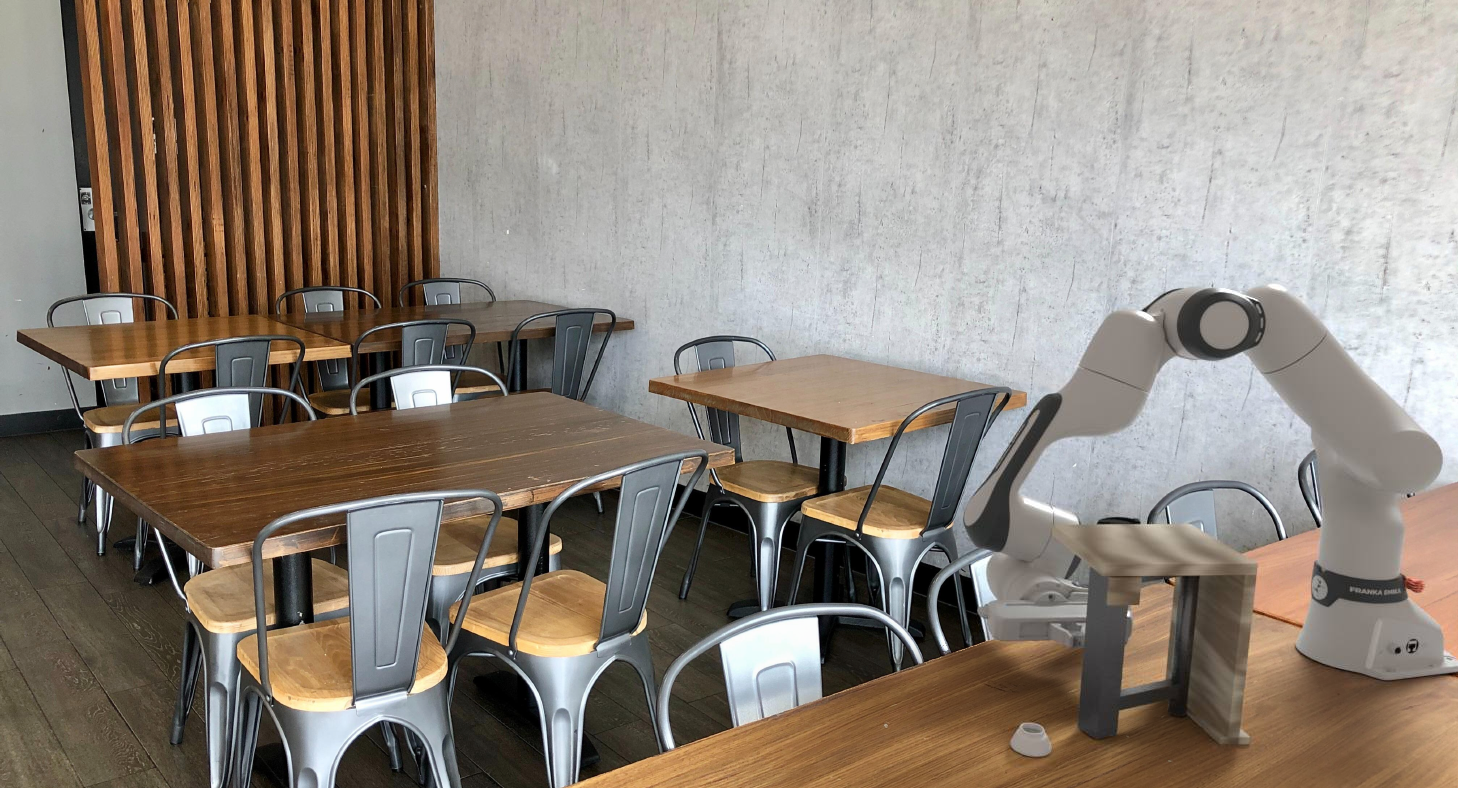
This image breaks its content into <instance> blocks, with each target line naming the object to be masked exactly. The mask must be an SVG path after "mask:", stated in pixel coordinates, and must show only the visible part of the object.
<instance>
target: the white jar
mask: <svg viewBox="0 0 1458 788" xmlns="http://www.w3.org/2000/svg"><path fill="white" fill-rule="evenodd" d="M1009 743H1010V747H1011V748H1012V749H1013V750H1014V751H1016V752H1017V753H1019V754H1021V755H1023V756H1028V757H1034V758H1037V757H1038V758H1039V757H1044V756H1045V757H1046V756H1047V755H1049V754H1050V753H1052V750H1053V749H1052V744H1051V741H1050V740H1049V737H1048V735H1047V733H1046V732H1045V728H1044V727H1043V726H1042V725H1040V724H1038V723H1035V722H1024V723H1021V724H1020V725H1019V728H1017V729H1016V731H1015V733H1014V734H1013V736H1012V737H1011V739H1010V741H1009Z"/></svg>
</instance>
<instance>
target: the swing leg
mask: <svg viewBox="0 0 1458 788" xmlns="http://www.w3.org/2000/svg"><path fill="white" fill-rule="evenodd" d="M1140 577H1142V581H1141V584H1143V583H1149V582H1156V581H1161V580H1166V579H1167V580H1169V579H1173V578H1174V579H1175V577H1180V584H1179V595H1178V605H1177V616H1176V627H1175V637H1174V648H1173V658H1172V669H1171V679H1168V680H1166V679H1163V681H1162V680H1158V681H1155V682H1150V683H1145V684H1141V685H1136V686H1132V687H1126V688H1122V683H1123V682H1122V680H1123V671H1124V670H1123V669H1124V658H1125V649H1126V648H1125V646H1126V643H1125V636H1126V625H1127V613H1128V605H1107V604H1106V603H1107V591H1108V579H1109V576H1102V575H1101V574H1099V573H1098V572H1097V571H1096V570H1094V569H1093V568H1092V567H1091V566H1089V580H1088V583H1089V588H1088V601H1087V614H1086V626H1085V639H1084V648H1083V653H1082V666H1081V667H1082V668H1081V678H1080V691H1079V704H1078V714H1077V715H1078V716H1077V719H1078V720H1077V728H1078V729H1079V730H1081V731H1082V732H1084V733H1086V734H1087V735H1089V736H1090V737H1092V738H1093V739H1095V740H1099V739H1104V738H1108V737H1112V736H1117V735H1118V730H1119V729H1118V727H1119V715H1120V711H1124V710H1129V709H1133V708H1137V707H1143V706H1147V705H1151V704H1156V703H1161V702H1165V701H1168V703H1167V713H1168V714H1170V715H1172V716H1175V717H1186V716H1187V703H1188V693H1189V683H1190V673H1191V662H1192V652H1193V642H1194V632H1195V621H1196V611H1197V601H1198V591H1199V581H1200V575H1184V576H1140Z"/></svg>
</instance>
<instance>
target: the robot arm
mask: <svg viewBox="0 0 1458 788" xmlns="http://www.w3.org/2000/svg"><path fill="white" fill-rule="evenodd" d="M1325 325H1326V324H1324V323H1323V322H1322V320H1321V319H1320V318H1318V316H1317V315H1315V313H1314V312H1313V311H1312V310H1311V309H1310V308H1309V307H1308V306H1307V305H1306V304H1305V303H1303V302H1302V300H1300V299H1299V298H1298V297H1296V295H1294V294H1293V293H1292V292H1290V290H1288V289H1287V288H1285V287H1284V286H1282V285H1279V284H1277V283H1265V284H1260V285H1257V286H1254V287H1252V288H1250V289H1247V290H1246V291H1244V292H1243V293H1239V292H1238V291H1234V290H1233V289H1228V288H1224V287H1211V286H1205V285H1204V286H1201V285H1196V286H1194V285H1193V286H1188V287H1186V288H1185V287H1183V288H1179V287H1178V288H1174V289H1171V290H1168V291H1166V292H1164V293H1162V294H1160V295H1159V296H1158V297H1156V298H1155V299H1154V300H1153V301H1152V302H1150V303H1149V304H1148V305H1146V306H1145V307H1143V309H1141V310H1139V309H1135V308H1122V309H1116V310H1115V311H1112V312H1111V313H1109V314H1108V315H1107V316H1106V317H1105V319H1104V320H1103V322H1101V324H1100V326H1099V327H1098V328H1097V330H1096V332H1095V333H1094V335H1093V336H1092V338H1091V340H1090V342H1089V344H1088V345H1087V347H1086V349H1085V350H1084V352H1083V355H1082V356H1081V359H1080V361H1079V364H1078V366H1077V368H1076V370H1075V372H1074V374H1073V376H1072V377H1071V378H1070V380H1069V381H1068V382H1067V383H1066V384H1064V386H1063V387H1062V388H1061V389H1059V390H1058V391H1056V392H1054V393H1048V394H1046V395H1044V396H1043V397H1042V398H1041V399H1040V400H1039V401H1038V402H1037V403H1036V404H1035V405H1034V407H1033V408H1032V409H1031V411H1030V412H1029V414H1028V415H1027V417H1026V418H1025V419H1024V421H1023V422H1022V424H1021V425H1020V427H1019V429H1017V431H1016V433H1015V435H1014V436H1013V438H1012V440H1011V441H1010V442H1009V444H1008V446H1007V447H1006V448H1005V450H1004V452H1003V454H1002V455H1001V456H1000V458H999V460H998V461H997V463H996V464H995V466H994V468H993V469H992V471H990V473H989V475H987V478H986V479H985V480H984V482H983V483H982V484H981V485H980V486H979V487H978V488H977V490H976V491H975V492H974V493H973V495H972V496H971V498H970V499H969V501H968V503H967V505H966V507H965V510H964V512H963V516H962V523H963V526H964V529H965V532H966V533H967V535H968V538H969V539H970V542H972V543H973V545H974V546H975V547H976V548H978V549H982V550H987V551H991V552H994V553H993V554H992V556H990V558H989V560H988V562H987V565H986V567H985V573H986V574H985V576H986V581H987V584H988V588H989V590H990V592H991V593H992V595H993V596H994V598H995V599H996V600H990V601H989V602H988V603H985V604H984V606H978V607H977V610H976V611H977V614H978V615H979V616H980V617H981V618H982V619H984V620H986V627H987V630H988V631H989V634H990V636H991V637H992V638H993V639H995V640H997V641H1000V642H1038V641H1039V642H1041V641H1042V642H1043V641H1044V642H1045V641H1047V642H1049V641H1050V642H1051V641H1053V642H1056V643H1060V644H1062V645H1063V644H1064V645H1065V646H1066V648H1067V649H1073V648H1075V649H1077V648H1081V649H1084V639H1085V626H1086V614H1087V601H1088V588H1089V582H1088V583H1087V582H1081V581H1073V580H1069V578H1071V576H1072V575H1074V573H1075V572H1076V570H1078V569H1077V568H1078V567H1079V565H1080V563H1081V561H1082V559H1081V558H1080V557H1078V556H1077V555H1076V554H1075V553H1073V552H1072V551H1071V550H1070V549H1068V548H1067V547H1066V546H1065V545H1063V544H1062V543H1061V542H1060V541H1059V540H1057V539H1056V538H1055V537H1054V536H1052V526H1053V525H1083V524H1082V521H1081V520H1080V518H1079V517H1078V516H1077V514H1076V513H1074V512H1071V511H1068V510H1066V509H1064V508H1061V507H1058V506H1056V505H1054V504H1051V503H1048V502H1044V501H1041V500H1038V499H1037V498H1033V497H1030V496H1028V495H1025V494H1023V493H1020V489H1021V487H1022V486H1023V484H1024V483H1025V481H1026V480H1027V478H1028V477H1029V475H1030V473H1031V472H1032V470H1033V469H1034V467H1035V465H1036V464H1037V463H1038V461H1039V460H1040V458H1041V456H1042V455H1043V453H1044V452H1045V451H1046V450H1047V448H1048V447H1049V446H1051V445H1052V444H1054V443H1055V442H1058V441H1060V440H1064V439H1069V438H1097V437H1099V438H1100V437H1108V436H1112V435H1115V434H1118V433H1121V432H1123V431H1124V430H1126V429H1128V428H1129V427H1131V426H1132V425H1133V424H1134V423H1135V421H1136V420H1137V419H1138V417H1139V416H1140V414H1141V412H1142V410H1143V409H1144V406H1145V404H1146V402H1147V400H1148V397H1149V395H1150V393H1151V390H1152V388H1153V385H1154V382H1155V380H1156V377H1157V375H1158V374H1159V372H1160V371H1161V369H1163V366H1164V365H1165V364H1166V363H1168V361H1170V360H1172V359H1173V358H1175V357H1178V358H1181V359H1186V360H1189V361H1190V360H1191V361H1200V360H1201V361H1202V360H1203V361H1208V362H1217V361H1222V360H1227V359H1229V358H1232V357H1234V356H1236V355H1239V354H1241V353H1242V354H1244V355H1245V356H1246V357H1248V358H1249V360H1250V362H1251V363H1252V364H1253V365H1254V366H1255V368H1256V369H1257V370H1258V371H1259V372H1260V374H1261V375H1262V377H1264V379H1265V380H1266V382H1268V383H1269V385H1270V386H1271V387H1272V388H1273V390H1274V391H1275V392H1276V393H1277V395H1278V396H1280V398H1281V400H1283V402H1284V404H1286V405H1287V406H1288V407H1289V409H1290V410H1291V411H1292V412H1293V414H1294V415H1296V416H1297V417H1298V418H1300V419H1301V420H1302V421H1303V422H1304V423H1305V424H1306V425H1307V426H1308V427H1309V428H1310V439H1311V443H1312V445H1313V447H1314V448H1313V449H1314V451H1315V453H1316V459H1317V469H1318V470H1317V471H1318V482H1319V491H1320V502H1321V523H1320V532H1319V541H1318V542H1319V543H1318V550H1317V559H1316V560H1314V561H1313V566H1312V567H1313V569H1312V574H1311V584H1310V586H1311V587H1310V594H1311V595H1310V596H1311V598H1310V602H1309V606H1308V610H1307V614H1306V618H1305V620H1304V624H1303V626H1302V629H1301V630H1300V632H1299V635H1298V638H1297V640H1296V641H1295V643H1294V644H1295V645H1294V646H1295V648H1296V649H1297V650H1298V651H1299V652H1300V653H1302V654H1303V655H1305V656H1306V657H1308V658H1310V659H1311V660H1314V661H1315V662H1319V663H1321V664H1324V665H1326V666H1329V667H1332V668H1337V669H1341V670H1345V671H1350V672H1355V673H1358V674H1363V675H1365V676H1369V677H1372V678H1376V679H1378V680H1383V681H1394V680H1401V679H1402V680H1403V679H1410V678H1416V677H1417V678H1418V677H1425V676H1434V675H1441V674H1450V673H1458V659H1457V657H1455V656H1454V655H1453V654H1452V653H1450V652H1448V651H1447V650H1446V649H1445V639H1444V633H1443V629H1442V627H1441V626H1440V624H1439V622H1437V620H1436V619H1434V618H1433V617H1432V616H1430V615H1429V614H1428V612H1426V611H1425V610H1423V609H1422V608H1421V607H1420V606H1418V605H1417V604H1416V603H1415V602H1414V601H1413V600H1411V599H1410V598H1409V595H1408V591H1407V590H1410V591H1412V592H1413V593H1415V594H1420V593H1422V592H1423V591H1424V590H1425V587H1426V585H1425V584H1426V583H1424V581H1423V580H1420V579H1418V578H1416V577H1414V576H1409V577H1407V576H1406V575H1404V574H1403V573H1402V572H1400V571H1401V570H1400V569H1401V564H1402V558H1403V549H1404V541H1405V534H1406V525H1405V520H1404V517H1403V516H1402V512H1401V510H1400V506H1399V502H1398V497H1397V495H1411V494H1416V493H1419V492H1421V491H1423V490H1426V489H1427V488H1429V487H1430V486H1431V485H1432V484H1433V483H1434V482H1435V481H1436V480H1437V478H1438V477H1439V475H1440V474H1441V472H1442V468H1443V464H1444V461H1443V460H1444V457H1443V452H1442V449H1441V446H1440V445H1439V444H1438V442H1437V441H1436V439H1434V438H1433V437H1432V435H1431V434H1429V433H1428V432H1427V431H1426V430H1425V429H1424V428H1422V427H1421V426H1420V425H1419V424H1418V422H1416V421H1415V420H1414V419H1413V418H1412V417H1411V415H1409V413H1408V412H1407V411H1406V410H1404V408H1403V407H1402V406H1401V405H1400V404H1399V403H1397V402H1396V400H1395V399H1394V398H1393V397H1392V396H1390V395H1389V394H1388V393H1387V392H1386V391H1385V390H1384V389H1383V388H1382V387H1381V386H1380V385H1379V384H1378V383H1377V382H1376V381H1375V380H1373V379H1372V378H1371V377H1370V376H1369V374H1367V373H1366V372H1365V371H1364V370H1363V369H1362V368H1361V367H1360V366H1359V365H1358V363H1356V362H1355V360H1354V359H1353V358H1352V356H1351V355H1350V354H1349V353H1348V352H1347V350H1346V349H1345V348H1344V347H1343V346H1342V344H1340V342H1339V341H1338V340H1337V338H1336V337H1335V336H1334V335H1333V333H1331V331H1330V330H1329V328H1327V327H1326V326H1325ZM1133 628H1134V615H1133V614H1132V611H1131V612H1130V611H1129V610H1128V613H1127V625H1126V636H1125V640H1126V639H1128V640H1129V639H1130V638H1131V637H1132V634H1133Z"/></svg>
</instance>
